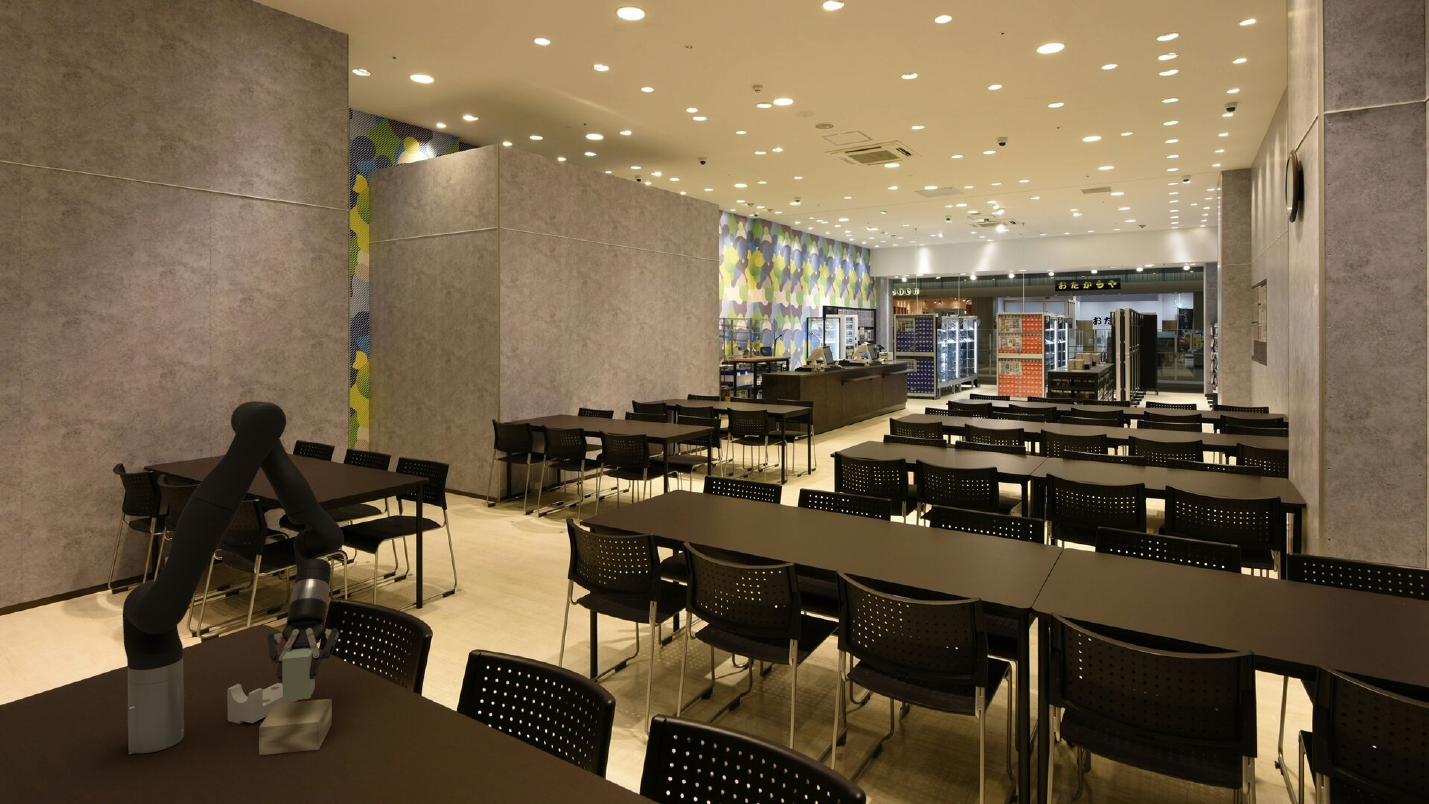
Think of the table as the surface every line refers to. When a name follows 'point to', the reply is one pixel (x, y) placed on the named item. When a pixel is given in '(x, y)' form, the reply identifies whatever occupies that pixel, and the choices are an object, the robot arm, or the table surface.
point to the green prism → (297, 674)
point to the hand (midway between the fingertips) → (296, 678)
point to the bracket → (253, 703)
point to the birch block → (295, 726)
